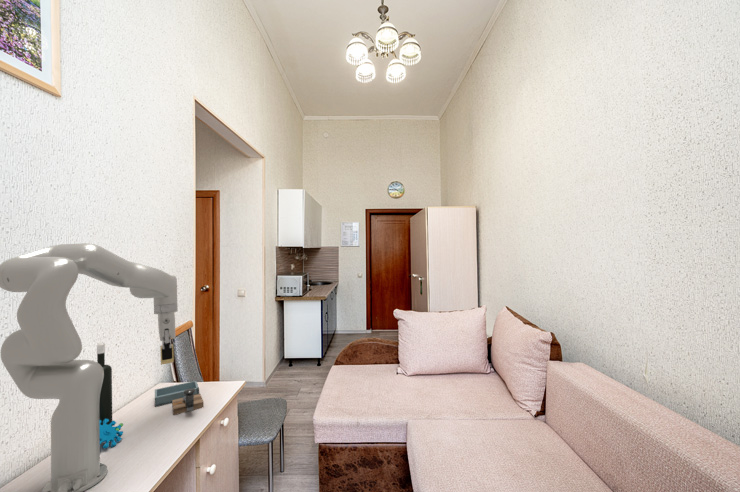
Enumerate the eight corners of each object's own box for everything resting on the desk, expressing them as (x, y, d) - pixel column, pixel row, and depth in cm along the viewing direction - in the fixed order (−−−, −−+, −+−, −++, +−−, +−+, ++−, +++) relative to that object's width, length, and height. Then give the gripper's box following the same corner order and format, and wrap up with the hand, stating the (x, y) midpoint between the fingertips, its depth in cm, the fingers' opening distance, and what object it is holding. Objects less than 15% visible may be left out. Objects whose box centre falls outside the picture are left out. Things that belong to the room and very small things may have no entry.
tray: (199, 396, 137) (198, 388, 137) (154, 407, 129) (154, 398, 129) (196, 388, 146) (196, 380, 146) (154, 397, 137) (154, 389, 137)
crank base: (203, 407, 127) (203, 401, 127) (173, 415, 121) (173, 409, 121) (200, 398, 135) (200, 393, 135) (172, 405, 129) (172, 399, 130)
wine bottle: (106, 434, 109) (105, 344, 110) (86, 437, 108) (85, 346, 109) (115, 425, 115) (114, 340, 116) (96, 428, 113) (96, 341, 114)
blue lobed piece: (101, 450, 97) (84, 424, 99) (87, 465, 97) (70, 438, 99) (133, 435, 107) (117, 412, 110) (120, 448, 107) (104, 424, 110)
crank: (182, 400, 128) (181, 382, 129) (192, 397, 130) (192, 379, 131) (184, 412, 117) (184, 393, 118) (195, 409, 119) (195, 390, 120)
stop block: (173, 362, 121) (173, 346, 121) (160, 364, 118) (160, 348, 119) (173, 359, 124) (172, 343, 124) (160, 361, 122) (160, 345, 122)
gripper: (178, 310, 117) (179, 361, 116) (176, 304, 131) (177, 350, 130) (153, 312, 113) (154, 366, 112) (154, 307, 127) (155, 354, 126)
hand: (167, 357), depth 121 cm, fingers closed on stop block, 4 cm apart
